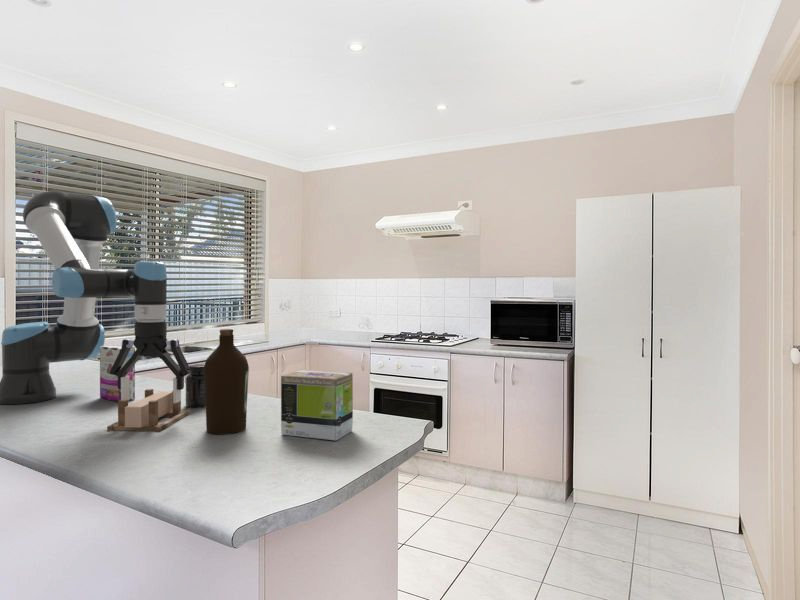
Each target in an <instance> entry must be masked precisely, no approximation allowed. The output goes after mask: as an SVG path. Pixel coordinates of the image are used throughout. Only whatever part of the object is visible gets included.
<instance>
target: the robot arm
mask: <svg viewBox="0 0 800 600" xmlns="http://www.w3.org/2000/svg"><path fill="white" fill-rule="evenodd" d="M22 219H23V223H24V224H25V227H26V228H27V230H28V231H29V232H30V233H31V234H32V235H35V236H36V238H37V239H38V242H39V243H40V245H41V247H42V249H43V250H44V252H45V254H46V256H47V258H48V259H49V261H50V263H51V265H52V266H53V269H54V271H53V272H52V277H51V286H52V291H53V293H54V295H56V296H57V297H58V298H64V300H63V301H64V303H63V313H62V314H61V315H60V316H59V317H58V318H56V325H50V323H49V322H48V321H39V322H38V321H36V322H35V321H34V322H27V323H21V324H15V325H10V326H8V327H6V328H4V330H2V335H1V342H0V344H1V358H2V359H1V363H2V367H1V368H2V371H1V372H2V376H1V379H0V405H22V404H31V403H33V404H34V403H39V402H44V401H48V400H51V399H54V398H56V397H57V388H56V387H55V386H56V385H55V383H54V381H53V378H52V375H51V373H50V363H51V364H52V363H60V362H61V363H62V362H72V361H84V360H90V359H91V360H92V359H95V358H97V357H98V356H100V347H101V346H105V340H106V335H105V328H104V326H103V325H102V323H101V324H100V323H99V322H100V321H99V319H98V318H97V317H96V316H95V313H96V311H95V309H96V304H97V303H96V301H97V298H134V319H135V322H134V336H135V338H134V339H132V338H126V339H122V343H121V346H122V348H121V350H120V352H119V354H118V356H117V358H116V360H115V362H114V364H113V366H112V368H111V370H110V374H112V375H116V376H117V377H118V389H121V400H128V402H130V401H131V400H130V399H129V376H125V375H127V373H128V372H129V370H130V369H131V368H132V367H133V366H134V365H136V363H137V362H138V361H139V360H140V359H141V358H142V357H143V358H144V357H145V358H147V357H150V358H155V357H158V358H159V359H160V360H162V362H163V363H164V364H165V365H166V366H167V368H168V369H169V370H170V371H171V373H173V375H175V377H173V378H172V391H173V403H177V402H179V401H181V400H182V393H181V392H182V390H183V389H184V387H185V377H187V376H188V375H189V374H190V373H191V372H192V371H191V369H190V367H189V366H190V365H189V364H188V362H187V359H186V357H185V355H184V353H183V350H182V348H181V347H180V340H179V339H178V338H176V339H171V340H168V337H167V333H168V330H167V328H168V327H167V325H168V324H167V322H166V321H165V320H166V319H167V318H168V316H167V314H168V313H167V289H168V288H167V286H168V285H167V283H168V282H167V281H168V275H167V265H166V263H165V262H162V261H147V260H146V261H136V262H135V264H134V267H133V269H130V268H129V269H128V268H126V269H124V268H100V259H101V250H102V249H101V248H102V246H103V244H105V243H106V242H107V241H108V236H110V235H113V234H114V233H115V232H116V229H117V214H116V210H115V208H114V205H113V203H112V201H110V199H109V198H106V197H103V196H98V195H94V194H83V193H77V192H66V191H59V190H46V191H42V192H40V193H37V194H36V195H34V196H33V197H31V198H30V199H29V200H28V201H27V202H26V204H25V205H24V208H23V212H22ZM167 346H168V348H169V349H170V350H171V353H172V355H173V356H174V358H173V357H172V356H171V355H170V352H169V351H168V350H167V349H166V348H167ZM131 347H135V352H134V353H133V355H132V357H131V358H130V359H129V360H128V361H127V362H126V364H125V365H124V366H123V367H122V365H123V363H124V361H125V359H126V357H127V355H128V353H129V351H130V349H131ZM174 359H175V360H174ZM121 367H122V368H121ZM120 369H121V370H120ZM181 402H182V401H181Z"/></svg>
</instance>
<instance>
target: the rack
mask: <svg viewBox="0 0 800 600" xmlns="http://www.w3.org/2000/svg"><path fill="white" fill-rule="evenodd" d="M171 392H172V411H170V412H168V413H166V414H165V415H163V416H161V417H160V418H162V417H163V418H164V417H166V418H167V417H168V418H170V419H167V420H166V421H164V422H159V418H158V400H151V401H149V423H148V424H147V425H145V426H143V427H141V428H139V427H125V407H126V406H128V405H129V401H128V400H120V401H118V402H117V421H116V422H114V423H112V424H110V425H108V426H107V427H106V428H107V429H106V430H107V431H110V432H111V431H154V432H155V431H156V432H162V431H164V430H166V429H167V428H169V427H170V426H172V425H174V424H175V423H177V422H178V421H180V420H182V419H183V418H185V417H187V416H188V415H190V414H191V410H190V409H184V410H182V401H179V402H177V403H173V390H172V391H171ZM153 394H154V388H147V389H145V390H144V398H146V397H148V396H150V395H153Z"/></svg>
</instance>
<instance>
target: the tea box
mask: <svg viewBox="0 0 800 600" xmlns="http://www.w3.org/2000/svg"><path fill="white" fill-rule="evenodd" d="M280 377H281V378H280V413H281V414H280V422H281V423H280V428H281V429H280V431H281V432H280V433H281V435H284V436H292V437H302V438H311V439H320V440H327V441H328V440H329V441H334V442H335V441H338V440H340V439H341V438H344V436H346V435H348V434H349V433H351V432H352V431H353V424H354V423H353V422H354V421H353V419H354V418H353V415H354V414H353V412H354V410H353V409H354V408H353V407H354V406H353V405H354V403H353V400H354V398H353V397H354V396H353V393H354V391H353V390H354V389H353V385H354V383H353V381H354V380H353V378H354V377H353V373H352V372H341V371H340V372H339V371H323V370H321V371H320V370H308V369H307V370H306V369H305V370H304V369H300V370H297V371H294V372H290V373H287V374H283V375H280Z"/></svg>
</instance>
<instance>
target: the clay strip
mask: <svg viewBox="0 0 800 600" xmlns="http://www.w3.org/2000/svg"><path fill="white" fill-rule="evenodd" d="M151 400H158V419H160V418H162V417H161V416H163V415H165V414H166V413H168V412H170V411H172V391H163V390H162V391H158V392H157V391H156V392H155V393H153V395H150V396H148V397H146V398H145V397H144V398H142V399H140V400H137V401H135V402H133V403H130V404H128V406H126V407H125V427H139V428H141V427H143V426H145V425H147V424H148V423H149V401H151Z"/></svg>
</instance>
